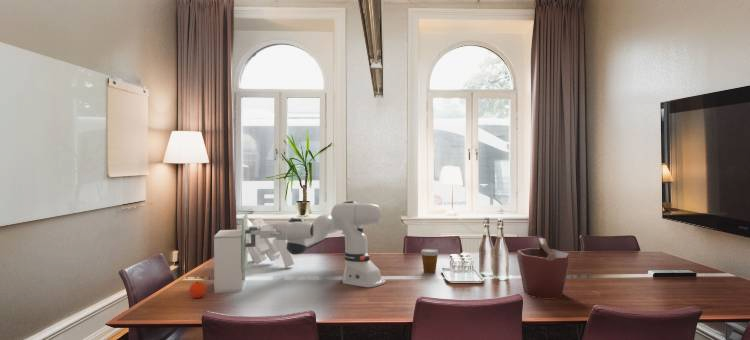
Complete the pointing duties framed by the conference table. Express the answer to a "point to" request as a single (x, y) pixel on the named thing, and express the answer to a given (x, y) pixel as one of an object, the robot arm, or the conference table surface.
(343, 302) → the conference table surface
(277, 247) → the pile of blocks
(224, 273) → the storage box
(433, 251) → the disposable coffee cup
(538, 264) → the bucket
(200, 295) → the clementine
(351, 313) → the conference table surface
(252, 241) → the hatch
